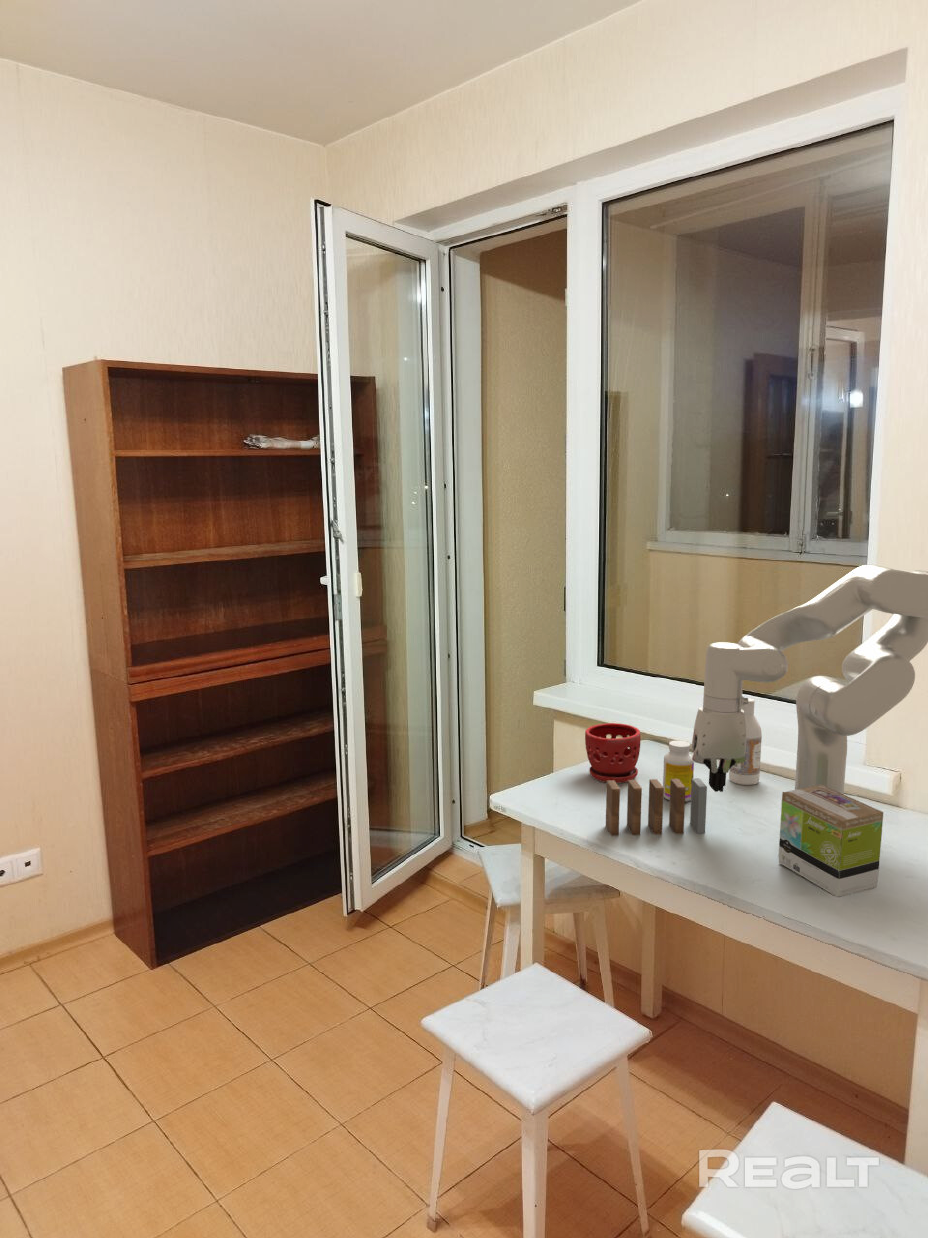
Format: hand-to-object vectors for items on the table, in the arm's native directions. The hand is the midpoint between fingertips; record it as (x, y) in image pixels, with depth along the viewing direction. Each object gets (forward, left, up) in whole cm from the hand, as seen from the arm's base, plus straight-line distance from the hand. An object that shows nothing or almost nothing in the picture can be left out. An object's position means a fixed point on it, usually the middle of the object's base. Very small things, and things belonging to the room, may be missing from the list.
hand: (716, 789), depth 185 cm
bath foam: (+2, -32, -9) cm, 33 cm away
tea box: (-24, +12, -9) cm, 28 cm away
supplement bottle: (+12, -12, -9) cm, 19 cm away
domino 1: (+18, +12, -8) cm, 23 cm away
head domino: (+3, +2, -8) cm, 9 cm away
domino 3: (+10, +7, -8) cm, 15 cm away
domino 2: (+14, +10, -8) cm, 19 cm away
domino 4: (+7, +5, -8) cm, 12 cm away
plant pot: (+30, -17, -9) cm, 36 cm away
